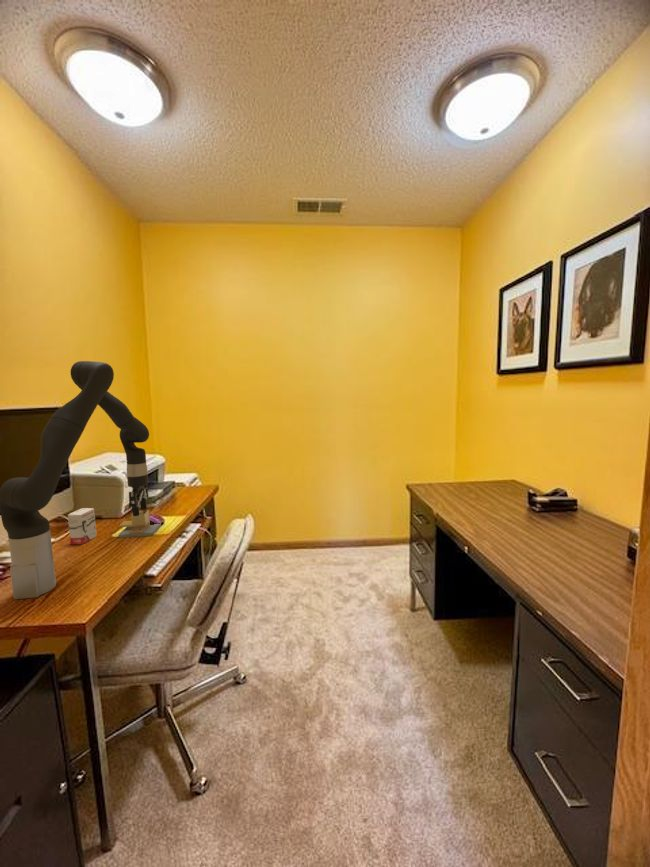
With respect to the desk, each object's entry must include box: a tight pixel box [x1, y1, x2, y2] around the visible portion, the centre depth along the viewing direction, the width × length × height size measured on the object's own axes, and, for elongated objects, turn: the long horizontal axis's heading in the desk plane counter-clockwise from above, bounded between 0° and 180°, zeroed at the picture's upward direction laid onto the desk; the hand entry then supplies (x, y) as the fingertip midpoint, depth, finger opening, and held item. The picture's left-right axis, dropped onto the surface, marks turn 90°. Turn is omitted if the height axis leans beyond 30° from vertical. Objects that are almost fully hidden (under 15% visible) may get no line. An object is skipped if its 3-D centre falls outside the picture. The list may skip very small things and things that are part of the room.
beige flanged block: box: [118, 509, 150, 528], centre depth 148 cm, size 10×5×5 cm, turn 98°
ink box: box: [67, 507, 98, 546], centre depth 139 cm, size 9×5×12 cm, turn 179°
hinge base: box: [117, 511, 165, 539], centre depth 149 cm, size 14×13×8 cm
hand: (140, 512), depth 149 cm, fingers open, 8 cm apart
